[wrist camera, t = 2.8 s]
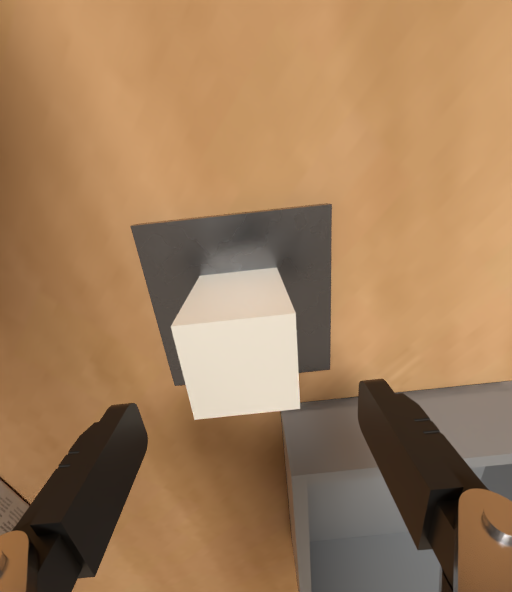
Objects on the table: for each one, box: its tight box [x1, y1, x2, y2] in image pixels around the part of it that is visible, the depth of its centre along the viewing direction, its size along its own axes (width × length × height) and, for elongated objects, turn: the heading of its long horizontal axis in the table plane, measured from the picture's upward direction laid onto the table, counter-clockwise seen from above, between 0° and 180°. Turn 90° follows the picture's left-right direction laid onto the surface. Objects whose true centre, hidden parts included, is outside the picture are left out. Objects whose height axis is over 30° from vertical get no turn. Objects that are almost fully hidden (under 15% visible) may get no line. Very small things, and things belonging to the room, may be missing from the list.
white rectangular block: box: [171, 267, 300, 420], centre depth 14 cm, size 5×5×7 cm
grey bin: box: [281, 381, 512, 592], centre depth 23 cm, size 20×20×6 cm
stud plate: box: [131, 204, 332, 386], centre depth 16 cm, size 12×12×6 cm
